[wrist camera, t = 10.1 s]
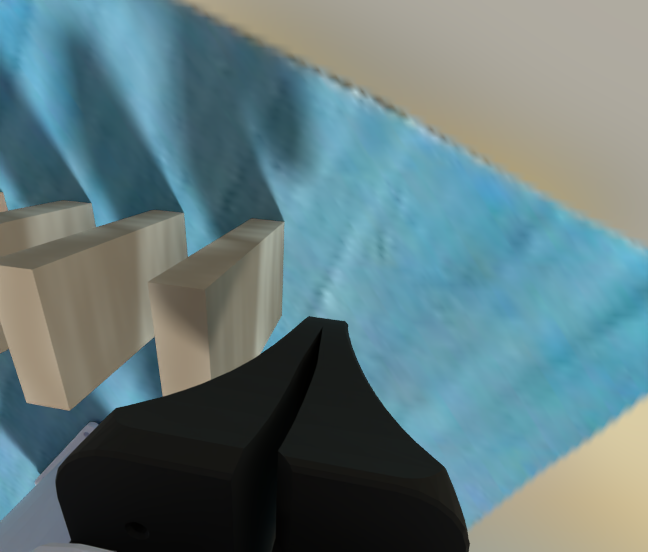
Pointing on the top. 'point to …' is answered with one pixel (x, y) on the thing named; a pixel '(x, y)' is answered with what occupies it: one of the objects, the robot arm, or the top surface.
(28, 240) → the domino
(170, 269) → the domino
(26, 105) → the top surface
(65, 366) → the domino
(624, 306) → the top surface
